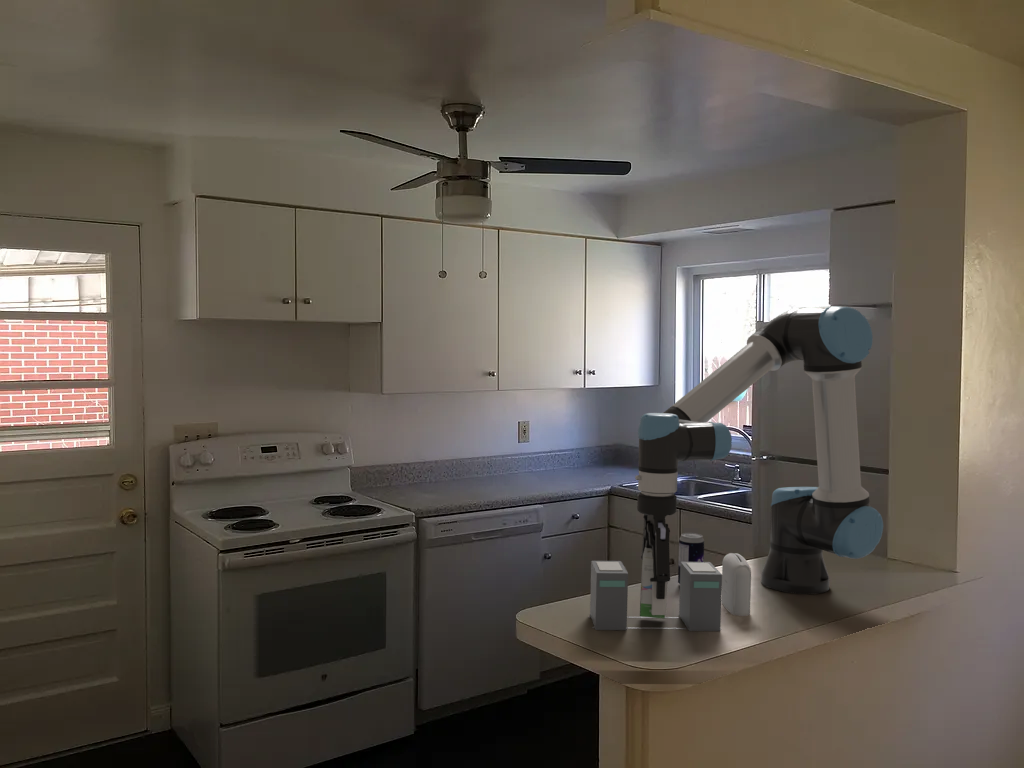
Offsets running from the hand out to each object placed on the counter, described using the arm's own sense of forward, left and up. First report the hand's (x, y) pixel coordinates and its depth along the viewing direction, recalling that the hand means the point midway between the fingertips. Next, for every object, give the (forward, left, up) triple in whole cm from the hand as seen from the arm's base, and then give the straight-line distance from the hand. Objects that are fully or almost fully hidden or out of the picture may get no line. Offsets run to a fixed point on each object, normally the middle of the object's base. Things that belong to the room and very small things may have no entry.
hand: (653, 606), depth 168 cm
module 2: (-9, 0, -3) cm, 10 cm away
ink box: (0, 0, -1) cm, 1 cm away
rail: (0, 0, -4) cm, 4 cm away
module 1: (+9, 0, -3) cm, 10 cm away
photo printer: (-19, -10, -5) cm, 22 cm away
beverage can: (-14, -29, -5) cm, 33 cm away
